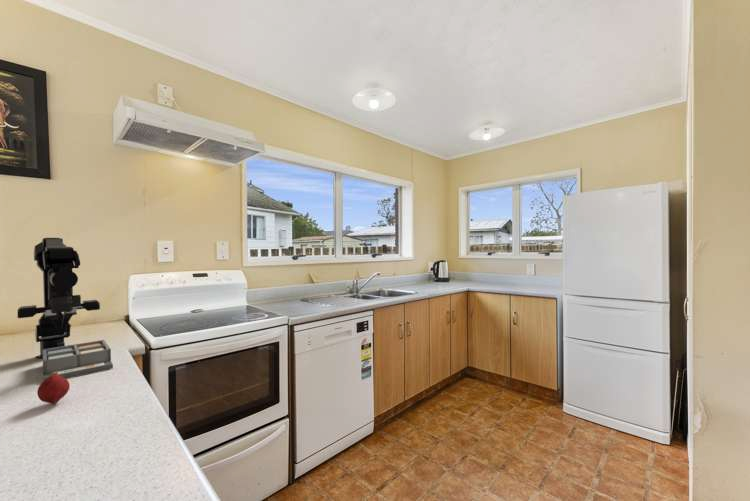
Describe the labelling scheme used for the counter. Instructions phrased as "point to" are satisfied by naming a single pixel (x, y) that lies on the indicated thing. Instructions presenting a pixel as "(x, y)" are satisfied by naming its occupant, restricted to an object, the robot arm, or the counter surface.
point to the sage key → (60, 356)
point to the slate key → (60, 350)
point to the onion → (53, 388)
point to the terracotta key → (89, 346)
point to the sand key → (91, 350)
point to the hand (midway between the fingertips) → (61, 335)
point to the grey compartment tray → (77, 360)
